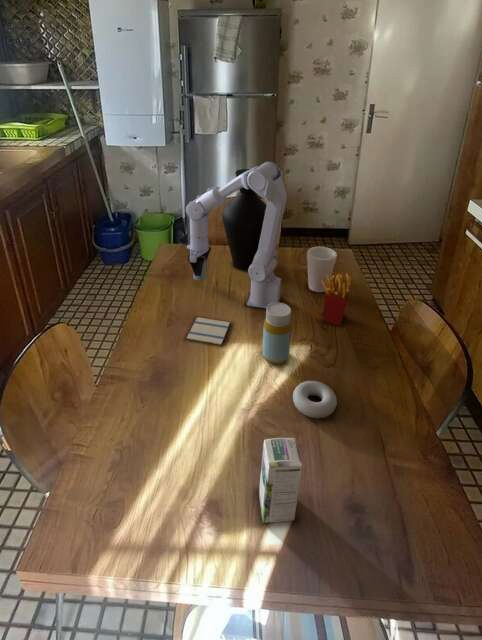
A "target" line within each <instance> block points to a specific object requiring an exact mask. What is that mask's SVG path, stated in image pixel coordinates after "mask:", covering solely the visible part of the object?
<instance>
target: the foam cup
mask: <svg viewBox="0 0 482 640" xmlns="http://www.w3.org/2000/svg"><path fill="white" fill-rule="evenodd" d="M337 256H338V253H337V252H336V251H335V250H334V249H332V248H331V247H326V246H312V247H310V248H307V251H306V262H307V264H306V265H307V287H308V289H309V290H311V291H312V292H315V293H325V292H326V290H325V287H324V285H323V283H322V282H321V281H322V280H323V279H324V280H325V282H326V284H327V286H328V284H329V282H328V279H327V277H326V276H327V275H328V276H329V277H330V278H331V277H332V275H333V270H334V267H335V264H336V263H337Z"/></svg>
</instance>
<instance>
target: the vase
mask: <svg viewBox="0 0 482 640" xmlns="http://www.w3.org/2000/svg"><path fill="white" fill-rule="evenodd" d="M250 169H251V168H242V169H238V170H235V172H234V173H235V176H236V177H238V176H239V175H241V174H242V173H244V172H246V171H248V170H250ZM236 177H235V178H236ZM238 191H239V192H238V193H237V194H236V195H235V196H234V197H233V198H232V199H231V200H230V201H229V202H228V203H226V204H225V206H224V207H223V209H222V213H221V218H222V223H223V224H222V225H223V228H224V232H225V236H226V240H227V243H228V244H227V245H228V248H229V252H230V256H231V260H232V265H233V267H234V268H236V269H237V270H239V271H248V269H249V267H250V265H251V264H252V263H253V259H254V257H255V255H256V253H257V251H258V247H259V242H260V237H261V232H262V226H263V221H264V216H265V211H266V206H267V203H266V202H264V201H263V199H262V198H261V196H260V195H258V194H257V193H256V192H254V191H253V190H252V189H251V188H250V189H246V188H244V187H242V188H241V189H239V190H238Z"/></svg>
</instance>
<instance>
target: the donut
mask: <svg viewBox="0 0 482 640" xmlns="http://www.w3.org/2000/svg"><path fill="white" fill-rule="evenodd" d="M311 396H312V397H313V396H314V397H317V398H319V399H320V400H321V401H318V402H317V401H312V400H311V399H309V398H308V397H311ZM292 401H293V404H294V407H295V408H296V409H297V410H298V412H300V413H301V414H302V415H304V416H305V417H309V418H311V419H312V418H313V419H325V418H327V417H329V416H330V415H332V414H333V413H335V410H336V407H337V406H338V405H337V404H338V402H337V396H336V394H335V392H334V390H333V389H332V388H331V387H330V386H328V385H327V384H326V383H323V382H321V381H316V380H305V381H303V382H300V383H299V384H298V385H297V386H296V387H295V388H294V390H293V393H292Z"/></svg>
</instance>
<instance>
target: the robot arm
mask: <svg viewBox="0 0 482 640" xmlns="http://www.w3.org/2000/svg"><path fill="white" fill-rule="evenodd" d="M249 169H250V170H248V171H246V172H244V173H242V174H241V175H239V176H238V177H235V178H233V179H231V180H230V181H229V182H227V183H226V184H224V185H223V186H222V187H219V186H210V187H208V188H207V189H206V192H205V193H203V194H199V195H197V196H196V198H195V199H194V200H192V201H189V202H188V204H187V205H186V207H185V213H186V215H187V217H188V219H189V238H190V244H187V246H186V249H188V250H189V253H190V254H189V255H188V256H187V261H188V263H189V264H190V266H191V269H192V273H193V272H194V275H195V276H201V273H202V266H203V263H204V260H205V259H206V264H207V262H208V257H209V255H210V253H211V250H212V248H211V246H210V245H209V220H208V219H209V213H211V212H213V211H215V210H217V208H219V207H220V206H223V205H224V204H226V202H227V197H229V196H230V195H232V194H234V193H236V192H237V191H240V190H239V189H241V188H242V187H244V188H246V189H250V188H251V189H252V190H253V191H254V192H256V194H257V195H258V196H259V197H260V198H261V199H264V200H265V202H266V205H267V206H266V211H265V216H264V221H263V226H262V232H261V237H260V242H259V247H258V251H257V253H256V255H255V257H254V259H253V263H252V264H251V265H250V267H249V269H248V270H247V272H248V276H249V278H250V295H249V297H248V300H247V302H246V306H248V307H254V308H261V309H267V306H268V305H269V304H271V303H280V301H281V296H282V295H281V290H282V278H281V277H278V276H276V275H275V269H276V268H277V267H278V265H279V260H278V251H277V250H276V249H277V245H278V241H279V240H278V239H279V236H280V231H281V226H282V221H283V217H284V213H285V208H286V204H287V199H288V195H287V191H286V188H285V184H284V181H283V171H282V170H281V169H280V168H279V167H278V165H277V164H276V163H274V162H272V161H265V162H263V163H261V164H260V165H257V166H255V167H252V168H249ZM201 255H203V257H205V258H201V257H200V256H201Z"/></svg>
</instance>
